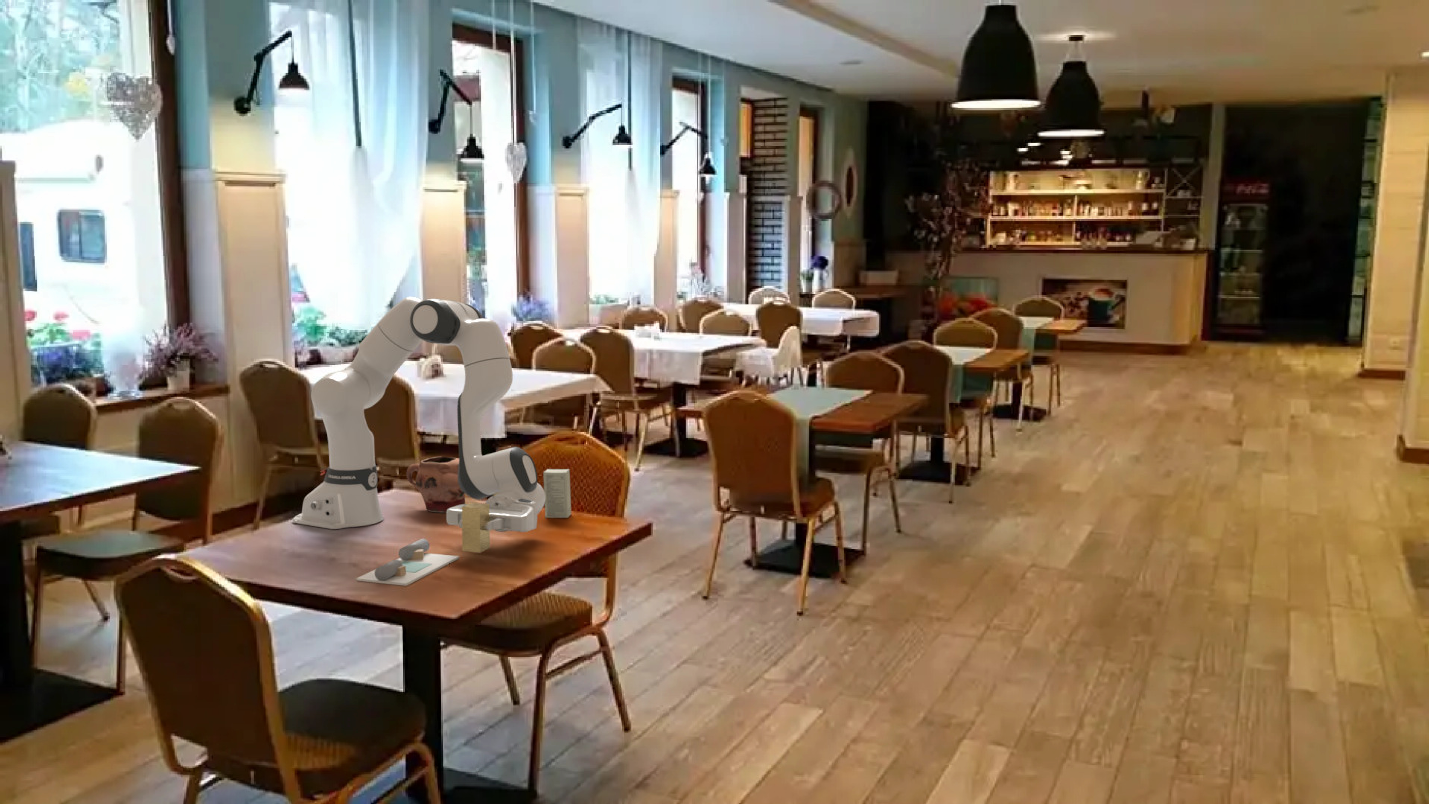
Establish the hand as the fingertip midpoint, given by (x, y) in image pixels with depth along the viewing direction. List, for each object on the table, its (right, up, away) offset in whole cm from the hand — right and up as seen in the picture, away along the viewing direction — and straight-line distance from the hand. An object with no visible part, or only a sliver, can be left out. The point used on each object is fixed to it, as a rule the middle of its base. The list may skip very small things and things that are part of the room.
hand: (474, 525), depth 261 cm
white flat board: (-14, -9, -3) cm, 17 cm away
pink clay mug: (-20, -1, +53) cm, 57 cm away
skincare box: (+12, -2, +46) cm, 48 cm away
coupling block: (0, -5, +2) cm, 6 cm away
